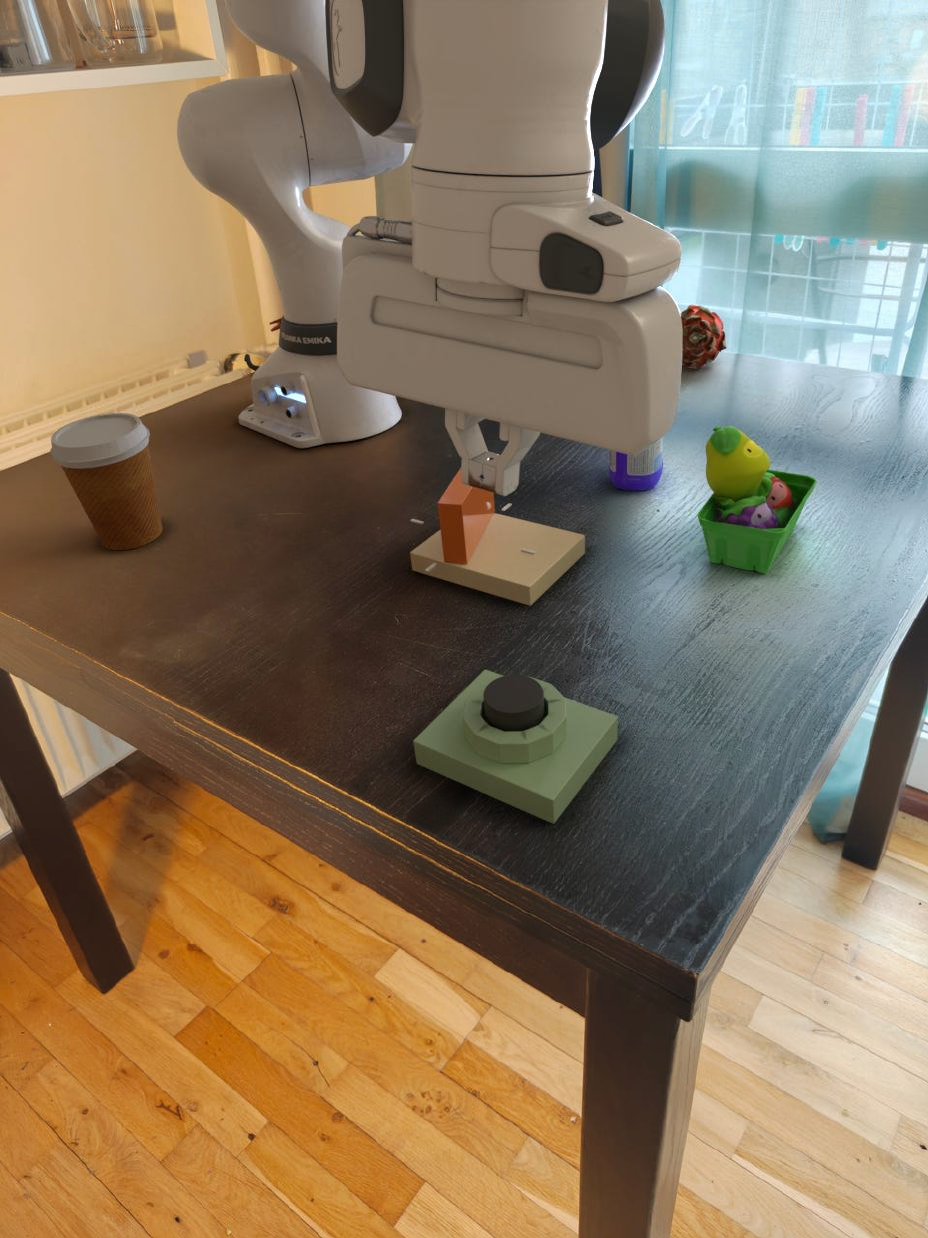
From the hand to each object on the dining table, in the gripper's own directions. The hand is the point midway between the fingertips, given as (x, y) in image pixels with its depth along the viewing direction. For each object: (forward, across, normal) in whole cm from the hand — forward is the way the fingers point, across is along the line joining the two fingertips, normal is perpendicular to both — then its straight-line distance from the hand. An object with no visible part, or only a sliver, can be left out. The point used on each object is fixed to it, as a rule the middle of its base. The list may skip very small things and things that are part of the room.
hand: (489, 487), depth 51 cm
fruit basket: (+16, +6, +35) cm, 39 cm away
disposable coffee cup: (+22, -50, +9) cm, 56 cm away
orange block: (+17, -16, +22) cm, 31 cm away
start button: (+16, +2, 0) cm, 16 cm away
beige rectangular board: (+19, -14, +22) cm, 32 cm away
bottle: (+16, -8, +43) cm, 47 cm away
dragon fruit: (+14, -18, +79) cm, 82 cm away
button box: (+20, +3, +1) cm, 20 cm away
